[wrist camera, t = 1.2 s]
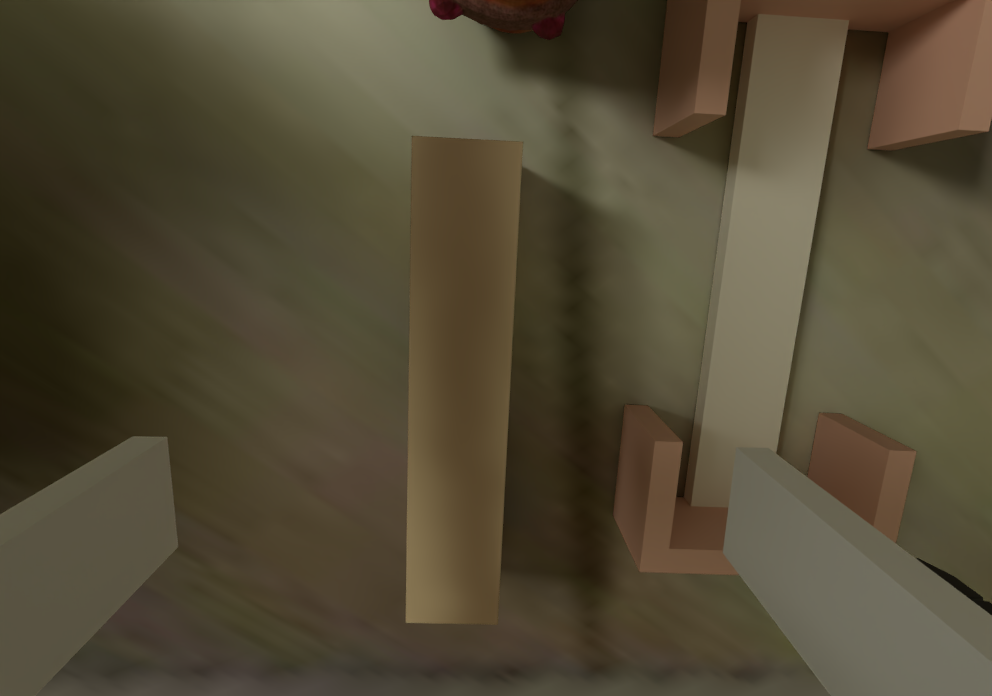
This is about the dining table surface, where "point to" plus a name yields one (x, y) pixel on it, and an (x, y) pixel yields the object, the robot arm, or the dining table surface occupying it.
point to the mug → (509, 14)
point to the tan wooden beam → (459, 373)
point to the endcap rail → (783, 244)
